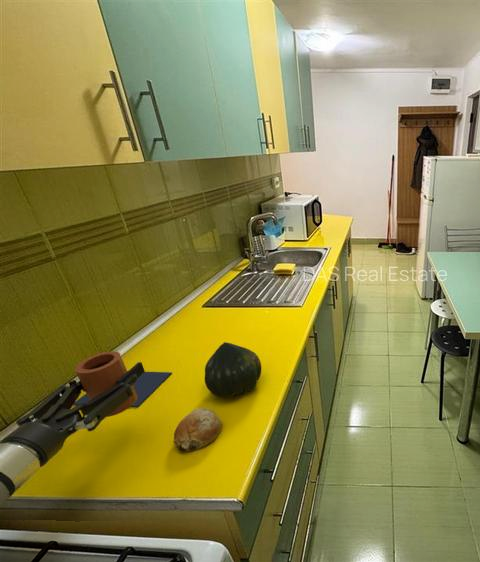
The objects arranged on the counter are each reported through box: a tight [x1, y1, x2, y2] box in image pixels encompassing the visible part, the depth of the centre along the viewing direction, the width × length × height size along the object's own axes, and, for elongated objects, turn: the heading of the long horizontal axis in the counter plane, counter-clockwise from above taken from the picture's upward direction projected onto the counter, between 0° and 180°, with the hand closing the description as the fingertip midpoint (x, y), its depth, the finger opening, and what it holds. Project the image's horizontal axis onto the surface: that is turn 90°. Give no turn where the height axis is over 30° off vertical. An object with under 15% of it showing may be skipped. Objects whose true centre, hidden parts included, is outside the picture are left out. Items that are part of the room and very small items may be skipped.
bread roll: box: [173, 407, 223, 452], centre depth 74 cm, size 10×10×8 cm
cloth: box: [73, 370, 173, 408], centre depth 90 cm, size 19×14×1 cm
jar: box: [74, 350, 137, 418], centre depth 67 cm, size 7×7×12 cm
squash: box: [204, 341, 263, 398], centre depth 88 cm, size 14×15×15 cm
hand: (124, 367), depth 71 cm, fingers closed on jar, 7 cm apart
